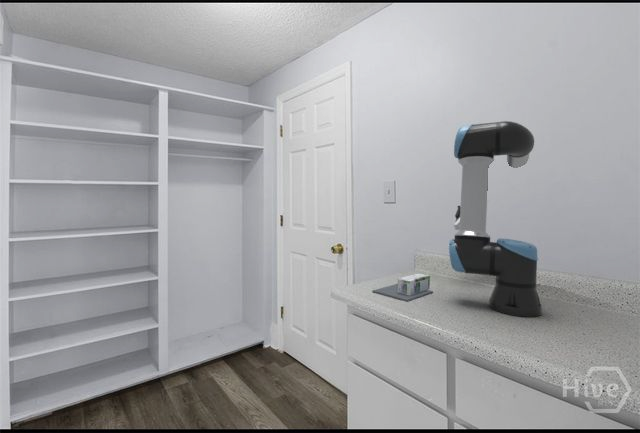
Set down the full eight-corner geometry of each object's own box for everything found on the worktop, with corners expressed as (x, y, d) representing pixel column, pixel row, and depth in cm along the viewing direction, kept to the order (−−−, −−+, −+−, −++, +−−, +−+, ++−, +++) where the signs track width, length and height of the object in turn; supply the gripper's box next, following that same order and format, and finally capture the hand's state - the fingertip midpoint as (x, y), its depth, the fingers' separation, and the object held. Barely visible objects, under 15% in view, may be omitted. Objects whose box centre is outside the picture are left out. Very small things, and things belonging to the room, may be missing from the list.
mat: (399, 284, 140) (399, 283, 139) (433, 292, 128) (433, 291, 127) (372, 292, 128) (372, 290, 128) (407, 301, 116) (407, 300, 116)
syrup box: (430, 289, 130) (410, 296, 120) (417, 286, 134) (396, 292, 125) (430, 275, 130) (410, 281, 120) (417, 273, 134) (397, 278, 125)
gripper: (494, 205, 146) (473, 234, 134) (466, 207, 157) (445, 234, 144) (490, 191, 144) (468, 219, 131) (462, 193, 154) (439, 220, 142)
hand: (456, 227), depth 138 cm, fingers closed
